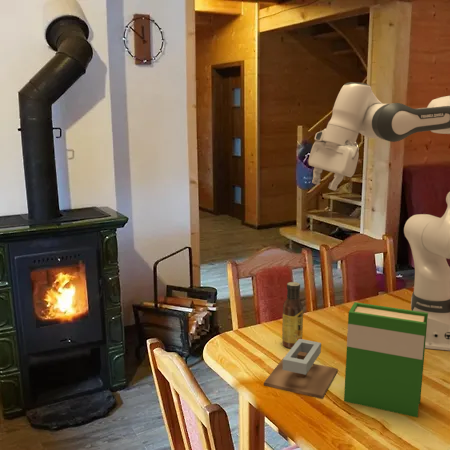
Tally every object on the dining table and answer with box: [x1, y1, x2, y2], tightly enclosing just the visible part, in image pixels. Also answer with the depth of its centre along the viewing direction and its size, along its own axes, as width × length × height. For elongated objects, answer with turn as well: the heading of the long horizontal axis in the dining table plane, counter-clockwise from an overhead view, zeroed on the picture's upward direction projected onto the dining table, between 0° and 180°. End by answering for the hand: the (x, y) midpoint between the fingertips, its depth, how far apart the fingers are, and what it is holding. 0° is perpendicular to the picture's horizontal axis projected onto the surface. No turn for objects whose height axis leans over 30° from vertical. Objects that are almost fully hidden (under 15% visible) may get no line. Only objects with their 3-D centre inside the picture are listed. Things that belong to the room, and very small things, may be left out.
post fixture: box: [263, 352, 338, 400], centre depth 148 cm, size 16×16×7 cm
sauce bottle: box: [281, 281, 304, 349], centre depth 167 cm, size 7×6×20 cm
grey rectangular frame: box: [282, 338, 322, 375], centre depth 148 cm, size 14×6×3 cm, turn 155°
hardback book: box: [343, 301, 428, 418], centre depth 135 cm, size 18×7×24 cm, turn 66°
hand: (323, 186), depth 153 cm, fingers open, 8 cm apart
